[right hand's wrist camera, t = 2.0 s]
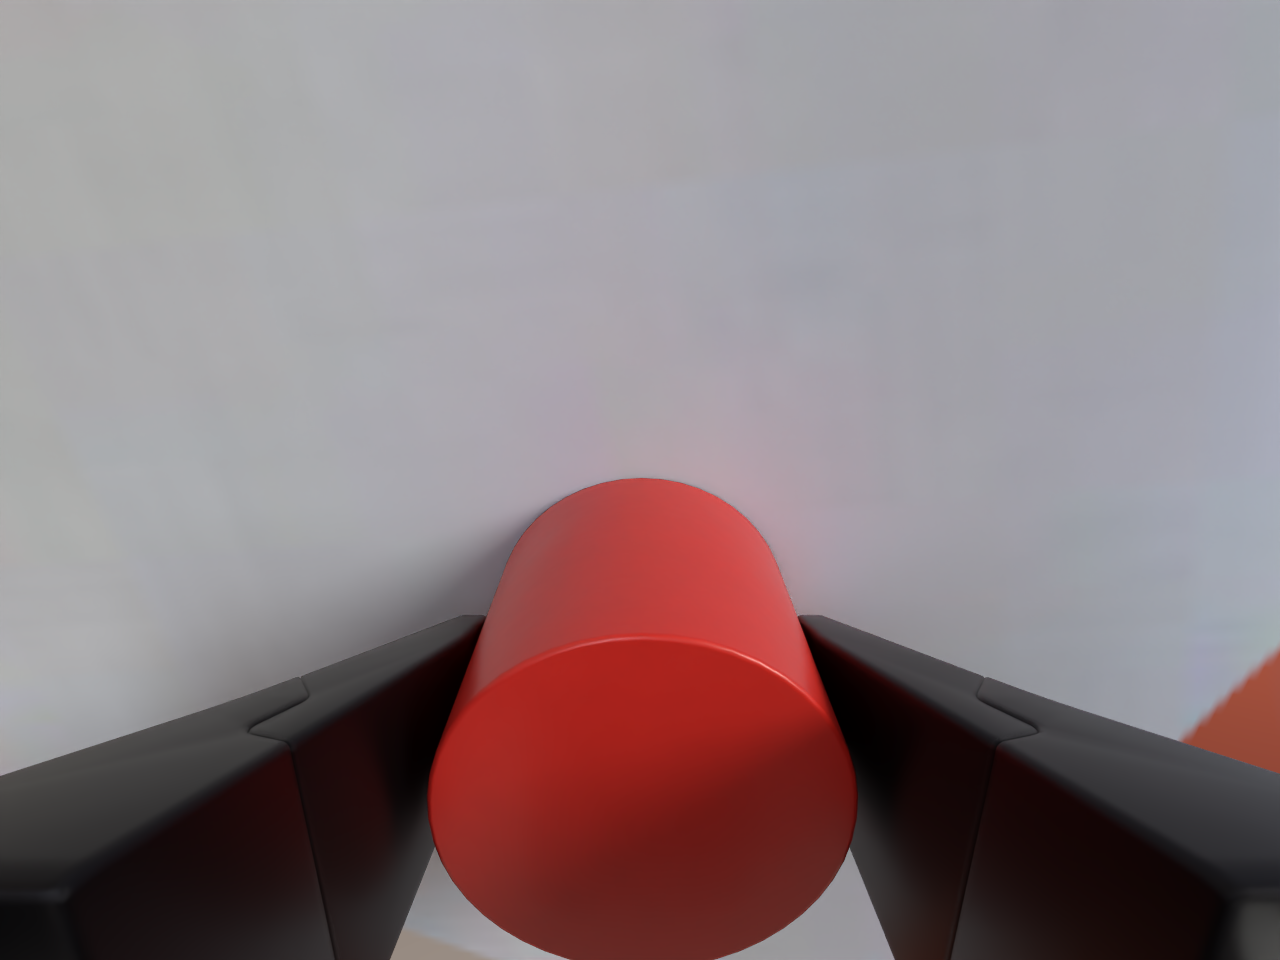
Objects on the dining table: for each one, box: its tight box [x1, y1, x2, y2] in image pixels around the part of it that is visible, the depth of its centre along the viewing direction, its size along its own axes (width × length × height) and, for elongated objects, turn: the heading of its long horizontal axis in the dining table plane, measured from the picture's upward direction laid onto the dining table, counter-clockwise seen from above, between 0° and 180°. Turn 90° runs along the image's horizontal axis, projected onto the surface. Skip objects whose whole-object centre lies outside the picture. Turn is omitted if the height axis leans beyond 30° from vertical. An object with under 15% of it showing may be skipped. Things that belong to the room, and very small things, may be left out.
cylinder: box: [427, 478, 858, 960], centre depth 10 cm, size 5×5×5 cm
